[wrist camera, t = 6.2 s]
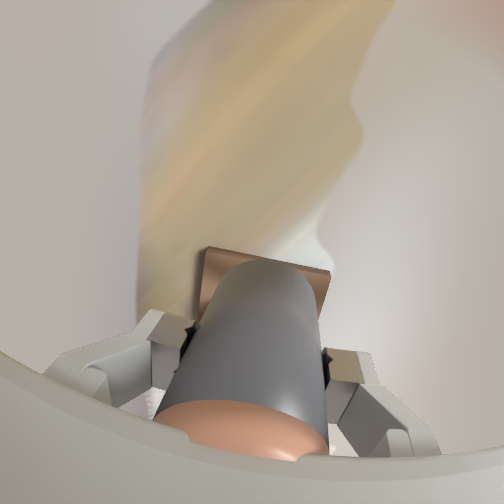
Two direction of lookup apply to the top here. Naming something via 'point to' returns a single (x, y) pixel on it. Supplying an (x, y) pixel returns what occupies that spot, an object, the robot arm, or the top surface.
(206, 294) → the wooden socket board
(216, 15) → the top surface
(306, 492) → the robot arm
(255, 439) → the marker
